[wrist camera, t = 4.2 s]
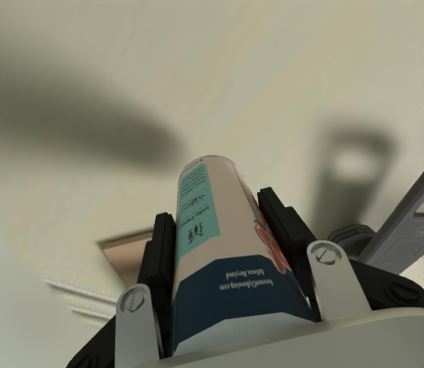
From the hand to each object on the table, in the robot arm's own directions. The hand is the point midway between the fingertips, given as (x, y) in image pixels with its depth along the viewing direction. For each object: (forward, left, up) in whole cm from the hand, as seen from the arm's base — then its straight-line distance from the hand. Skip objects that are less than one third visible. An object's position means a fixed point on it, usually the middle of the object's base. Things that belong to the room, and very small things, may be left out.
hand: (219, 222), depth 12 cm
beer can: (0, 0, -5) cm, 5 cm away
